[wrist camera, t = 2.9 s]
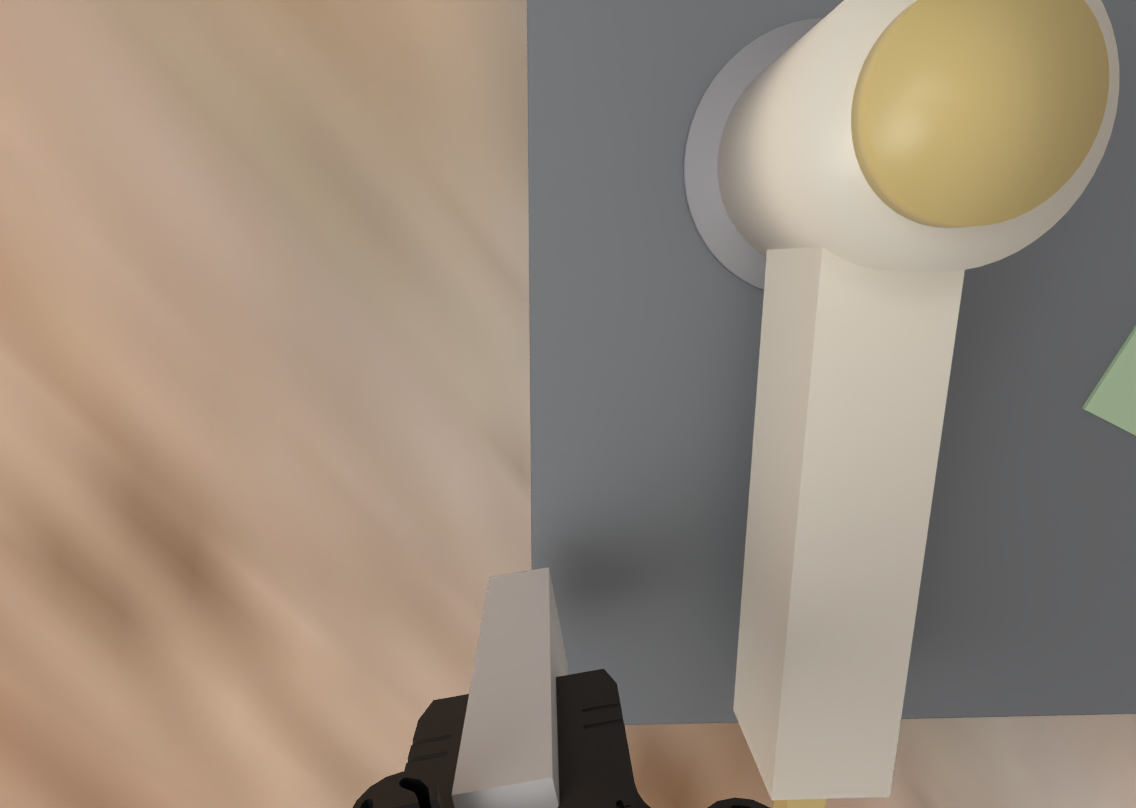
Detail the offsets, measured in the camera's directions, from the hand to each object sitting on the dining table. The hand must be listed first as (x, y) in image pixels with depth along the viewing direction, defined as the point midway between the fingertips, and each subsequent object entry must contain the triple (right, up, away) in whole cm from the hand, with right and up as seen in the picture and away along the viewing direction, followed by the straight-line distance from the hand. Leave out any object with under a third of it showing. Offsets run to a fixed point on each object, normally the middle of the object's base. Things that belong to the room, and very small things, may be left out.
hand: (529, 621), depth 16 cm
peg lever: (+7, +4, +1) cm, 8 cm away
